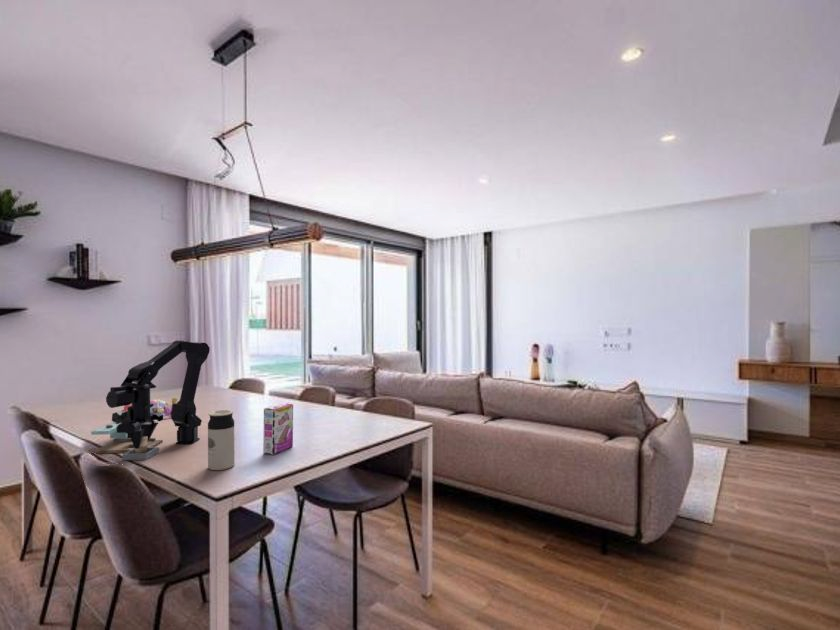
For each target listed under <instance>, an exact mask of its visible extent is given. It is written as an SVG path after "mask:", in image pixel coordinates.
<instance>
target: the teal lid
mask: <svg viewBox="0 0 840 630" xmlns="http://www.w3.org/2000/svg"><path fill="white" fill-rule="evenodd" d="M119 424H120V423H119ZM119 424H117V425H116V423H109V424H107V425H105V426H101V427H99V428H97V429H96V428H95V429H94V430H91V431H90V432H91V433H90V434H91V435H95V436H97V435H109V439H115V438H128V434H127V433H116V427H117V426H118V425H119Z"/></svg>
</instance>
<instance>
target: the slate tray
mask: <svg viewBox="0 0 840 630" xmlns="http://www.w3.org/2000/svg"><path fill="white" fill-rule="evenodd" d="M131 449H132V450H130V451H128V452H126V453H122V461H147V460H149V459H151V457H153V456H156V455H157V454H159V453H160V447H159V446H155V447H147V453H139V454H135V447H133V448H131ZM155 454H156V455H155Z"/></svg>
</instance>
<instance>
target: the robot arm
mask: <svg viewBox="0 0 840 630" xmlns="http://www.w3.org/2000/svg"><path fill="white" fill-rule="evenodd" d="M210 351H211V350H210V346H209V344H208V343H206V342H197V341H196V342H195V341H194V342H193V341H192V342H191V341H187V340H174V341H172V343H171V344H170V345H168V346H167V347H165V348H164V349H163V350H161V351H160V352H159V353H157V354H156V355H155V356H154V357H151V359H149V360H147V361H145V362H141V363H139V364H137V365H135V366H133V367H131V368H130V369H128V371H127V372H128V374H127V375H126V377H125V378H124V380H123V382H122V383H121V384H120V386H111V387H110V388H109V389H110V390H109V391H108V393H107V394H106V397H105V402H106V404H107V405H106V406H108V408H110V409H113V408H119V407H124V406H125V405H130V404H131V406H129V407H128V411H126V412H123V413H121V410H120V411H116V412H113V413H112V414H111V422H113V423H115V424H116V425H117V424H119V425H118V426H117V427H116V433H127V434H128V435H129V436H130V438H131V440H132V442H133V445H134V447H133V448H135V449H138V448H139V446H140V443H141V440H142V436H148V441H149V439H150V438H152V435H153V433H154V431H155V430H156V428H157V426H158V425H159V422H161V421H163V414H162V413H161V412H154V413H150V407H153V404H150V402H151V389H155V388H157V385H155V384H154V383H153V382H152V381H153V379H155V378H156V377H157V375H158V374H159V371H160V370H162V369H161V368H163V367H165V366H166V365H167V364H168V363H170V362H171V361H172V360H174V359H175V358H176V357H178V356H179V355H180V354H182V353H185V359H186V362H187V366H186V371H185V374H184V379H183V385H182V389H181V394H180V397H179V400H178V401H177V402H178V403H177V404H173V405H172V411H171V413H170V414H171V420H172V422H173V424H174V426H175V427H177V430H176V442H175V444H176V445H177V444H178V445H181V444H182V445H183V444H184V445H189V444H195V443H196V442H197V441H199V440H200V437H199V429H198V428H199V427H200V426H202V422H203V420H202V419H201V418H200V417H199V416H198V415H197V406H196V404H195V397H196V392H197V387H198V383H199V378H200V374H201V369H202V366H203V365H204V363H205V361H206V360H207V359H208V356H209V354H210ZM154 420H157V422H154ZM124 421H127V422H124ZM131 421H133V422H131ZM120 422H121V424H120ZM122 422H123V423H122Z"/></svg>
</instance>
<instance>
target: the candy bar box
mask: <svg viewBox="0 0 840 630" xmlns="http://www.w3.org/2000/svg"><path fill="white" fill-rule="evenodd" d="M293 438H294V404H293V403H284V402H283V403H278V404H276V405H272V406H268V407H263V443H262V444H263V447H262V448H263V450H262V451H263V454H265V455H270V456H275V455H277V454H279V453H281V452H284V451H286V450H289V449H290V448H293V447H294V443H293V442H294V439H293Z"/></svg>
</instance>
